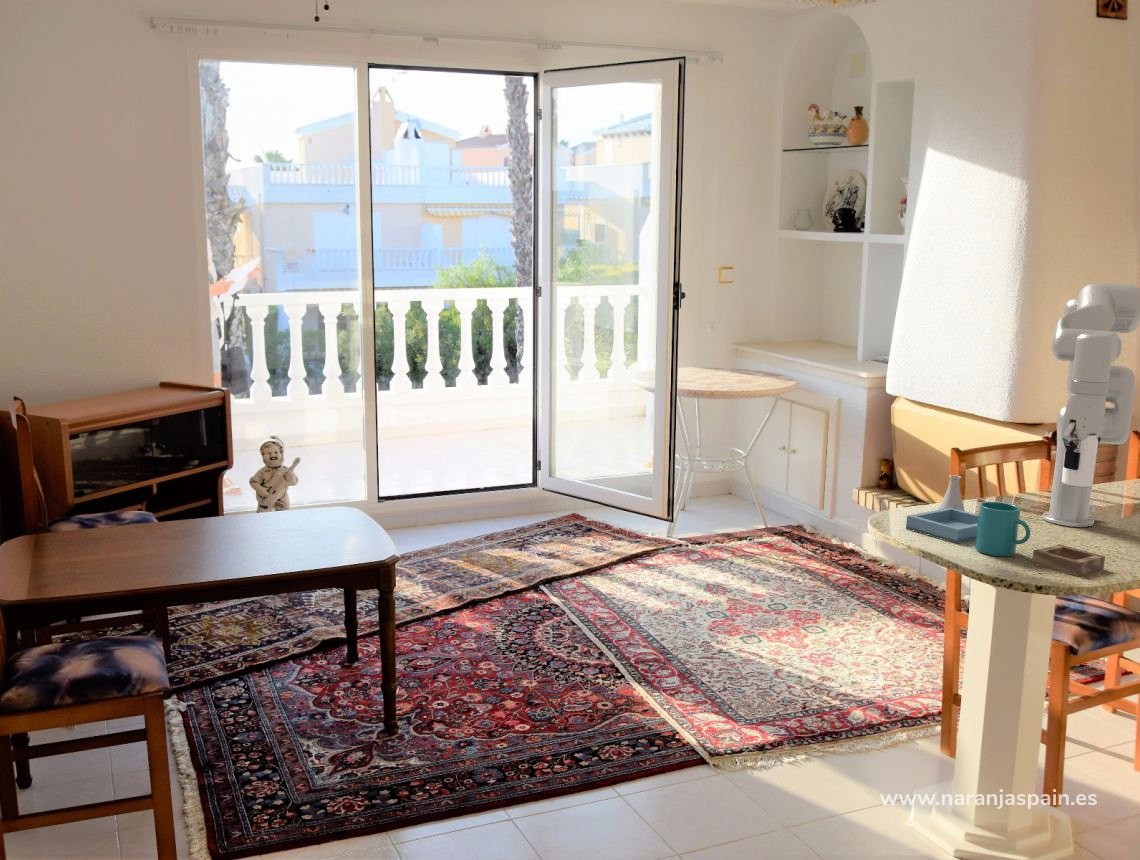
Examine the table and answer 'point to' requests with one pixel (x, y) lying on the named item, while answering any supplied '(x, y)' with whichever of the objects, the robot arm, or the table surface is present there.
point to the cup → (999, 529)
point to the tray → (945, 524)
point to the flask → (953, 495)
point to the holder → (1068, 560)
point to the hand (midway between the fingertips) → (1079, 466)
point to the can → (1083, 464)
